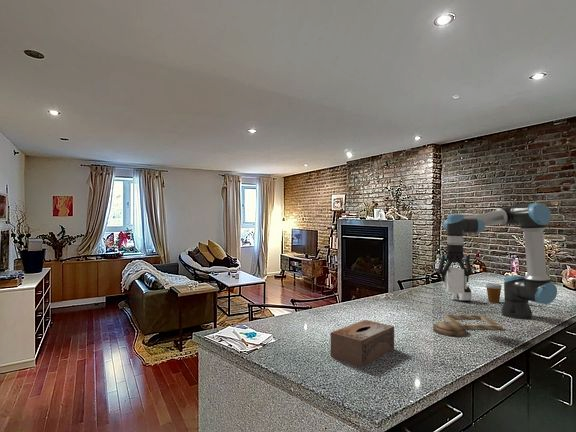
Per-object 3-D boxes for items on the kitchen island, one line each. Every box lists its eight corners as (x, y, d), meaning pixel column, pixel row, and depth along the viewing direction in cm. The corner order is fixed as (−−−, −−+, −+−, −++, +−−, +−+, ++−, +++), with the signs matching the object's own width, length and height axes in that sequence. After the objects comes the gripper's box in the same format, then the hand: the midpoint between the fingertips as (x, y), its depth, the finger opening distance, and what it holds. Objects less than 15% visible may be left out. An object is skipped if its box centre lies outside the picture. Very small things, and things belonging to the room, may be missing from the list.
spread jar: (473, 303, 232) (473, 285, 232) (456, 303, 232) (456, 285, 233) (464, 299, 244) (464, 282, 244) (448, 299, 244) (448, 282, 245)
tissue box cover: (361, 367, 130) (360, 340, 130) (330, 357, 140) (330, 332, 140) (394, 349, 148) (394, 326, 148) (365, 341, 158) (365, 319, 158)
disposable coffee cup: (486, 299, 241) (486, 282, 241) (502, 301, 236) (502, 284, 236) (485, 302, 233) (484, 284, 234) (501, 304, 228) (501, 286, 228)
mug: (454, 294, 169) (454, 270, 169) (438, 291, 176) (438, 268, 177) (468, 292, 175) (468, 269, 175) (452, 289, 182) (452, 267, 183)
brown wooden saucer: (457, 327, 179) (457, 320, 179) (472, 336, 164) (472, 329, 164) (428, 326, 179) (428, 320, 179) (440, 336, 164) (440, 329, 164)
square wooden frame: (481, 318, 195) (481, 314, 195) (502, 329, 174) (502, 325, 174) (444, 318, 195) (444, 314, 195) (461, 329, 175) (461, 325, 175)
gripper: (473, 244, 180) (473, 287, 179) (430, 243, 181) (430, 286, 180) (480, 245, 172) (480, 290, 172) (436, 244, 173) (435, 289, 173)
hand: (454, 288), depth 176 cm, fingers closed on mug, 9 cm apart
